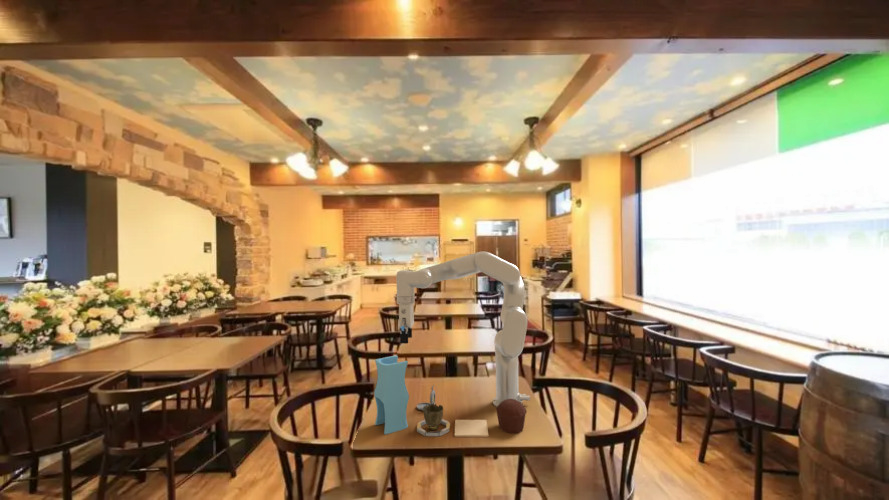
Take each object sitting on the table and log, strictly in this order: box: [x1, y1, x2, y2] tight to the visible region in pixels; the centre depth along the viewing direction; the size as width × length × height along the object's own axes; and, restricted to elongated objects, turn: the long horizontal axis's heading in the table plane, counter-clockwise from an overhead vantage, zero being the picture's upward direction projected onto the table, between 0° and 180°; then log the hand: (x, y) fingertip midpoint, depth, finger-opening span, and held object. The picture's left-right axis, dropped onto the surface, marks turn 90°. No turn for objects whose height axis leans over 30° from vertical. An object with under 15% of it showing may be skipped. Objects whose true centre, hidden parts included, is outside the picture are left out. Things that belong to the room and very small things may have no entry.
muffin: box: [495, 399, 528, 434], centre depth 145 cm, size 12×11×10 cm
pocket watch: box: [416, 384, 436, 411], centre depth 164 cm, size 8×8×10 cm
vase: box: [373, 354, 410, 435], centre depth 148 cm, size 10×10×25 cm
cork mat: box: [454, 419, 489, 438], centre depth 145 cm, size 12×12×1 cm
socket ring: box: [416, 418, 451, 437], centre depth 146 cm, size 12×12×1 cm
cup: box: [422, 403, 444, 431], centre depth 146 cm, size 8×7×8 cm
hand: (406, 340), depth 165 cm, fingers open, 9 cm apart
